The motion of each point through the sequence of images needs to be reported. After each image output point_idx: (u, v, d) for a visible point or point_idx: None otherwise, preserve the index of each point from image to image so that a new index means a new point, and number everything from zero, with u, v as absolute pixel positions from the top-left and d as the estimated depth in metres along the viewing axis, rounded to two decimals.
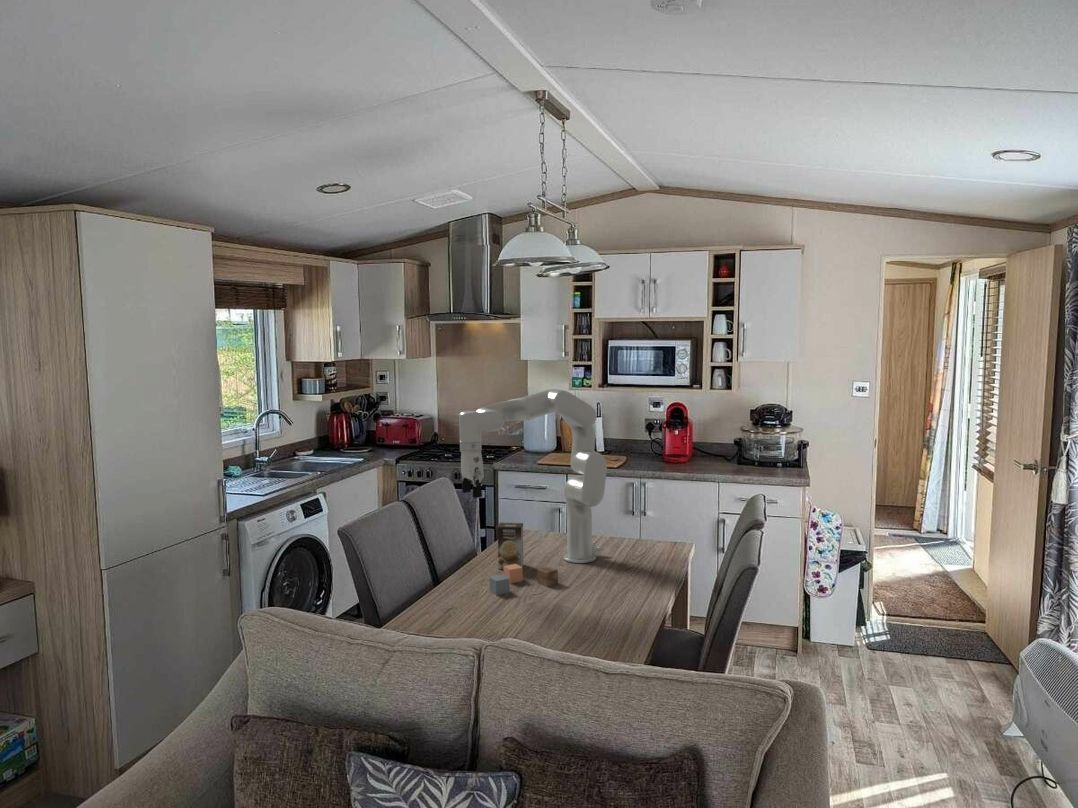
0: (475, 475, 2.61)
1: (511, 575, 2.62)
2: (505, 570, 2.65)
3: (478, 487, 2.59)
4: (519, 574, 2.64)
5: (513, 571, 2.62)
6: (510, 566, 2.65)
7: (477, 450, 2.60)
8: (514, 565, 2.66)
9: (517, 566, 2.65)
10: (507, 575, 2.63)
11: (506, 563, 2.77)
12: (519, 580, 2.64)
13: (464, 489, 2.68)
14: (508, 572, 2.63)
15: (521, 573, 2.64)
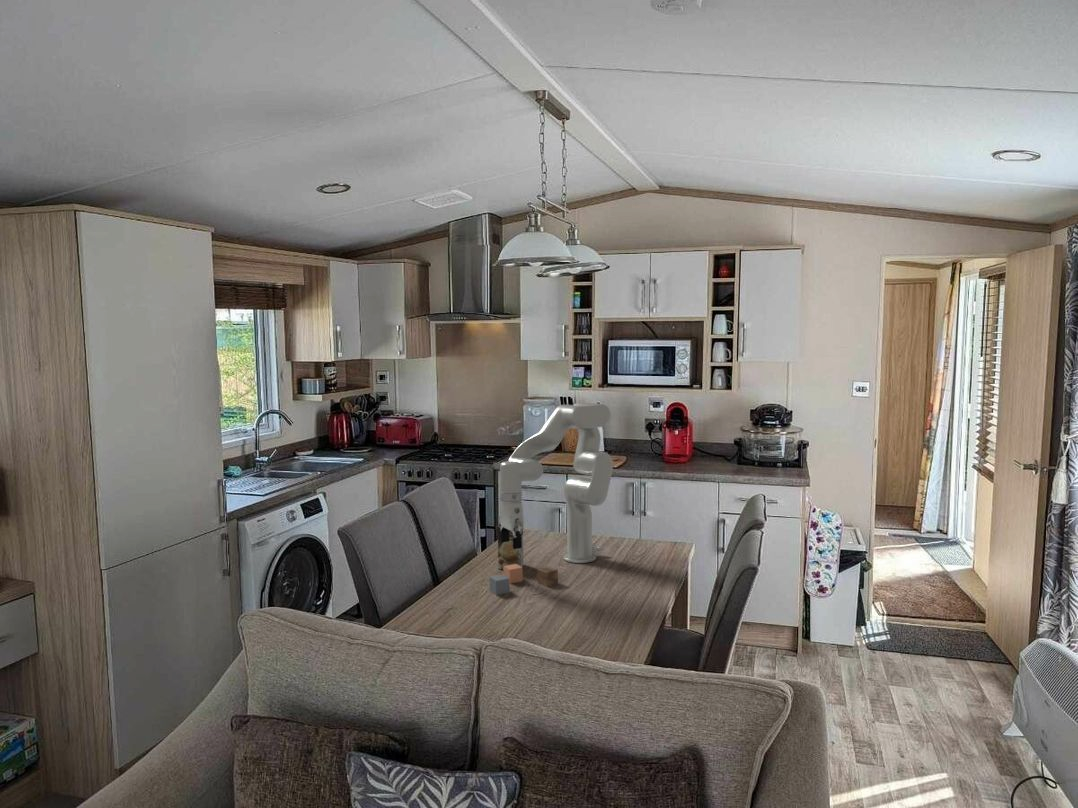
0: (515, 526, 2.60)
1: (511, 575, 2.62)
2: (505, 570, 2.65)
3: (518, 538, 2.58)
4: (519, 574, 2.64)
5: (513, 571, 2.62)
6: (510, 566, 2.65)
7: (518, 501, 2.60)
8: (514, 565, 2.66)
9: (517, 566, 2.65)
10: (507, 575, 2.63)
11: (506, 563, 2.77)
12: (519, 580, 2.64)
13: (503, 539, 2.67)
14: (508, 572, 2.63)
15: (521, 573, 2.64)
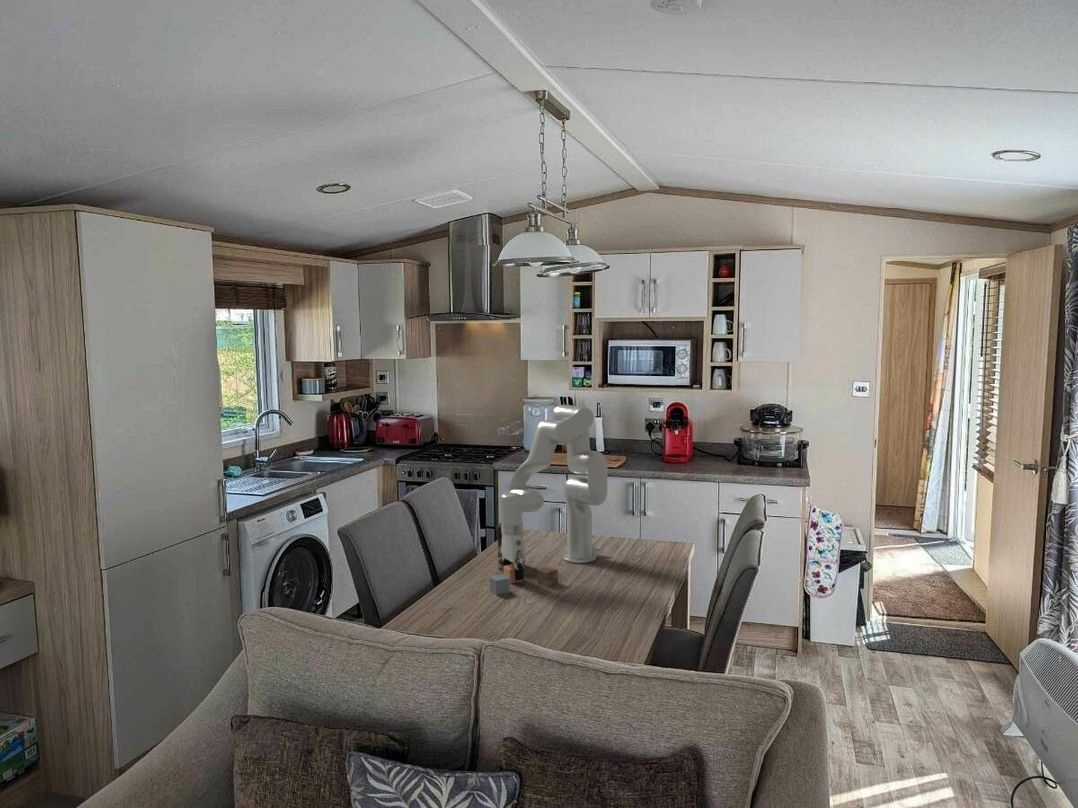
0: (517, 557, 2.62)
1: (511, 575, 2.62)
2: (505, 570, 2.65)
3: (520, 570, 2.60)
4: None
5: (513, 571, 2.62)
6: (510, 566, 2.65)
7: (519, 533, 2.61)
8: (514, 565, 2.66)
9: None
10: (507, 575, 2.63)
11: None
12: (519, 580, 2.64)
13: None
14: (508, 572, 2.63)
15: None
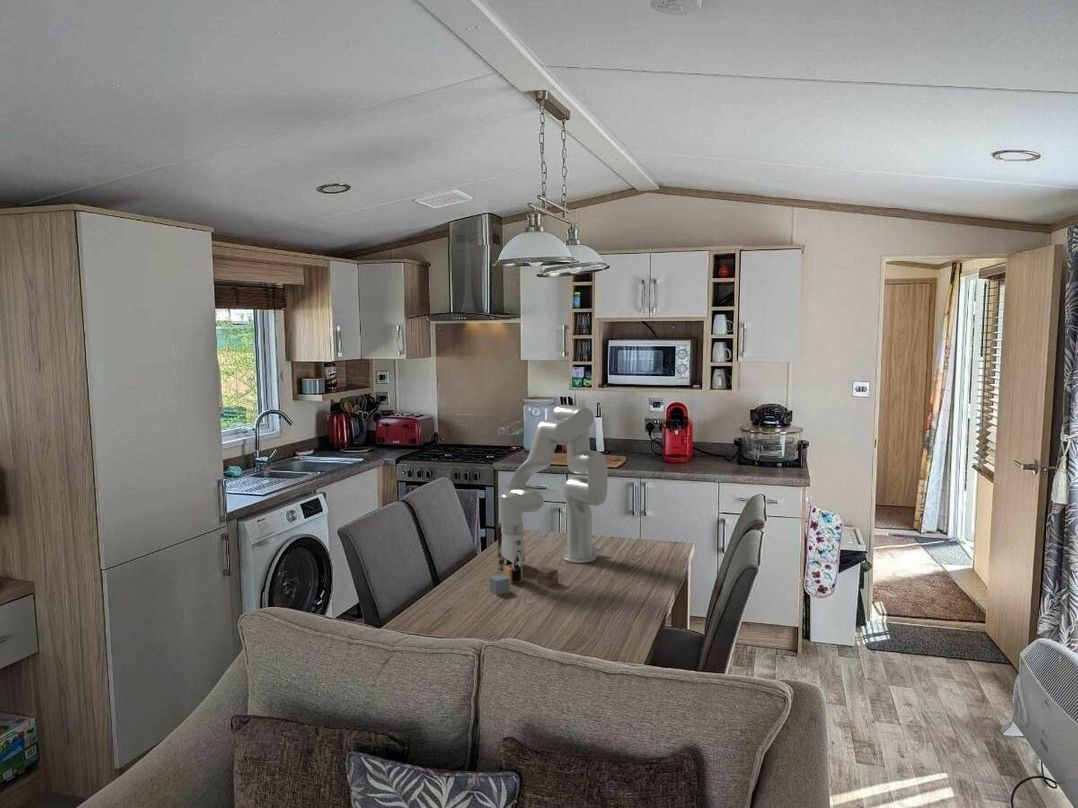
0: (516, 558, 2.62)
1: (511, 575, 2.62)
2: (505, 570, 2.65)
3: (517, 571, 2.62)
4: None
5: None
6: (510, 566, 2.65)
7: (519, 533, 2.61)
8: None
9: None
10: (507, 575, 2.63)
11: None
12: None
13: None
14: (508, 572, 2.63)
15: (521, 573, 2.64)
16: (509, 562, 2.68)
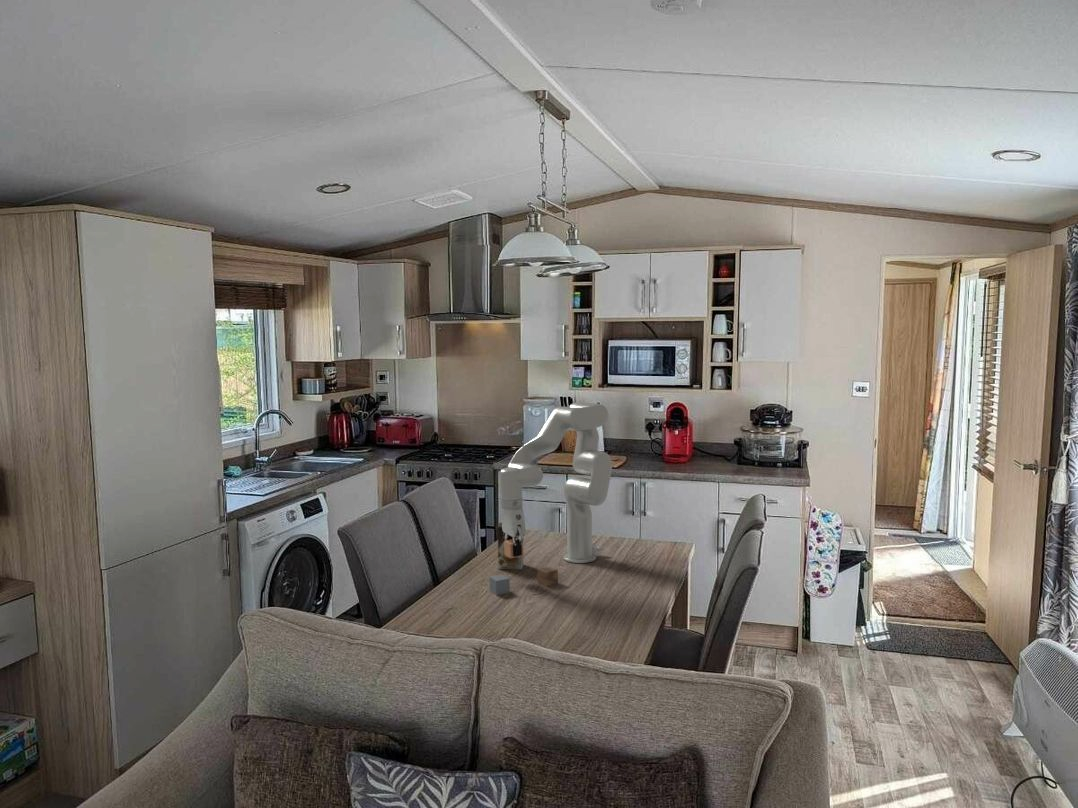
0: (516, 533, 2.62)
1: (512, 550, 2.62)
2: (506, 545, 2.64)
3: (518, 546, 2.61)
4: None
5: None
6: (510, 541, 2.65)
7: (519, 507, 2.60)
8: None
9: None
10: (508, 550, 2.63)
11: (506, 563, 2.77)
12: None
13: None
14: (509, 547, 2.62)
15: (522, 547, 2.63)
16: (510, 537, 2.67)
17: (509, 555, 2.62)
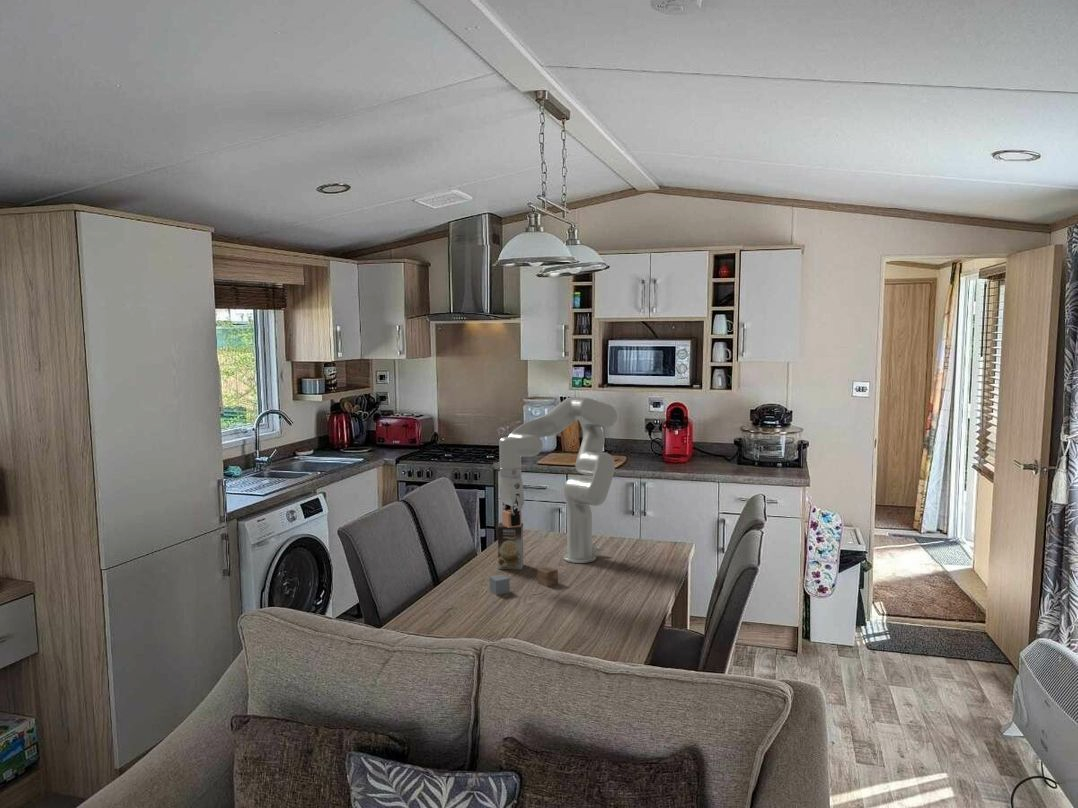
0: (515, 502, 2.60)
1: (510, 519, 2.60)
2: (504, 514, 2.63)
3: (516, 515, 2.60)
4: None
5: None
6: (509, 511, 2.63)
7: (518, 476, 2.59)
8: None
9: None
10: (506, 519, 2.61)
11: (506, 563, 2.77)
12: None
13: None
14: (507, 516, 2.61)
15: (520, 517, 2.62)
16: (508, 507, 2.66)
17: (507, 525, 2.61)
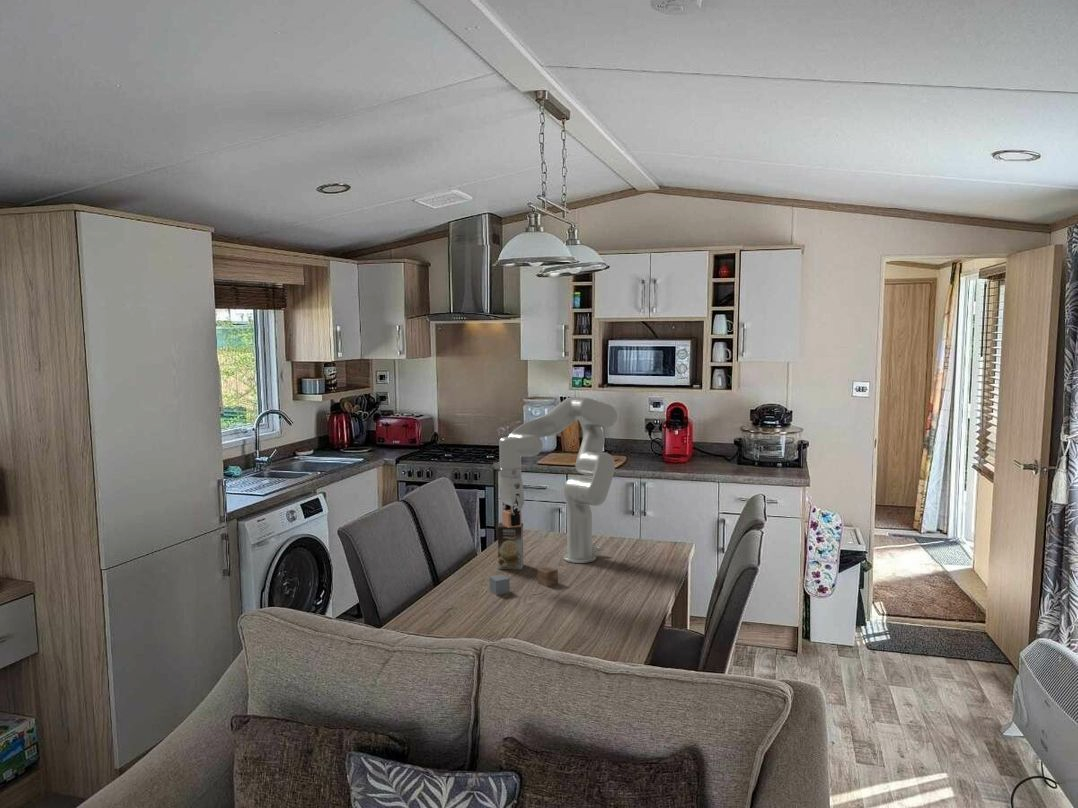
0: (515, 502, 2.60)
1: (510, 519, 2.60)
2: (504, 514, 2.63)
3: (516, 515, 2.60)
4: None
5: None
6: (509, 510, 2.63)
7: (518, 476, 2.59)
8: None
9: None
10: (506, 519, 2.61)
11: (506, 563, 2.77)
12: None
13: None
14: (507, 516, 2.61)
15: (520, 517, 2.62)
16: (508, 507, 2.66)
17: (507, 524, 2.61)
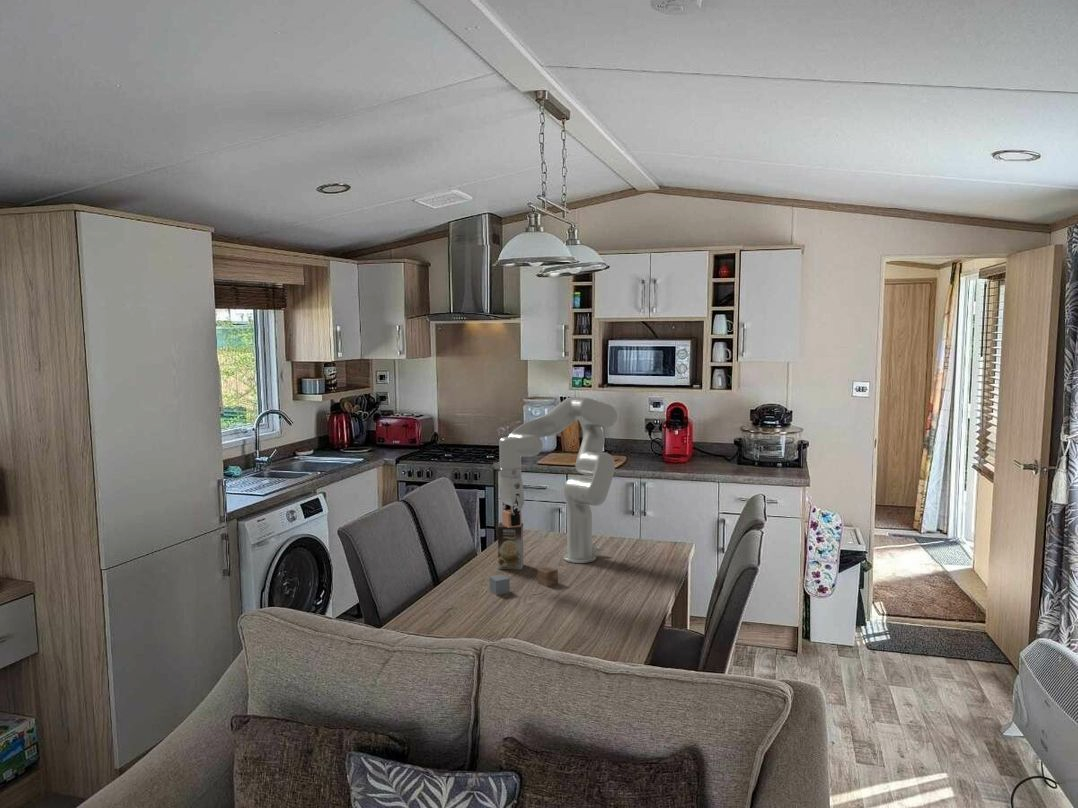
0: (515, 502, 2.60)
1: (510, 519, 2.60)
2: (504, 514, 2.63)
3: (516, 515, 2.60)
4: None
5: None
6: (509, 510, 2.63)
7: (518, 476, 2.59)
8: None
9: None
10: (506, 519, 2.61)
11: (506, 563, 2.77)
12: None
13: None
14: (507, 516, 2.61)
15: (520, 517, 2.62)
16: (508, 507, 2.66)
17: (507, 524, 2.61)
